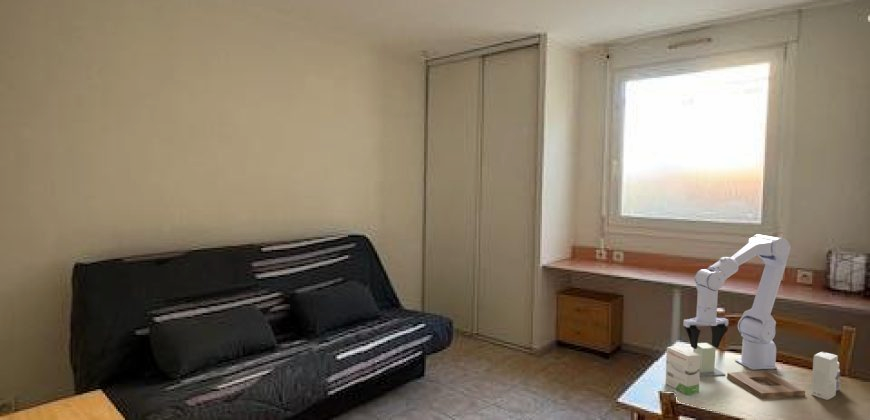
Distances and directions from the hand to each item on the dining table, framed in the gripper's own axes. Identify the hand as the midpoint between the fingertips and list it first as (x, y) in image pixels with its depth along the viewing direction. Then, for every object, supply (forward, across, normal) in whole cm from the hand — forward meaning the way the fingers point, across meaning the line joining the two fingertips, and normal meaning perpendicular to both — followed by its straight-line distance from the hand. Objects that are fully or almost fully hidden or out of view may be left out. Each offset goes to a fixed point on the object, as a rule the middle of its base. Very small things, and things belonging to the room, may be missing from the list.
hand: (704, 347), depth 161 cm
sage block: (+8, 0, 0) cm, 8 cm away
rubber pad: (+8, 0, 0) cm, 8 cm away
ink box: (+8, -15, -11) cm, 20 cm away
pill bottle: (+8, +30, -16) cm, 35 cm away
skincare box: (+8, +24, -20) cm, 32 cm away
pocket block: (+8, +11, -13) cm, 19 cm away
